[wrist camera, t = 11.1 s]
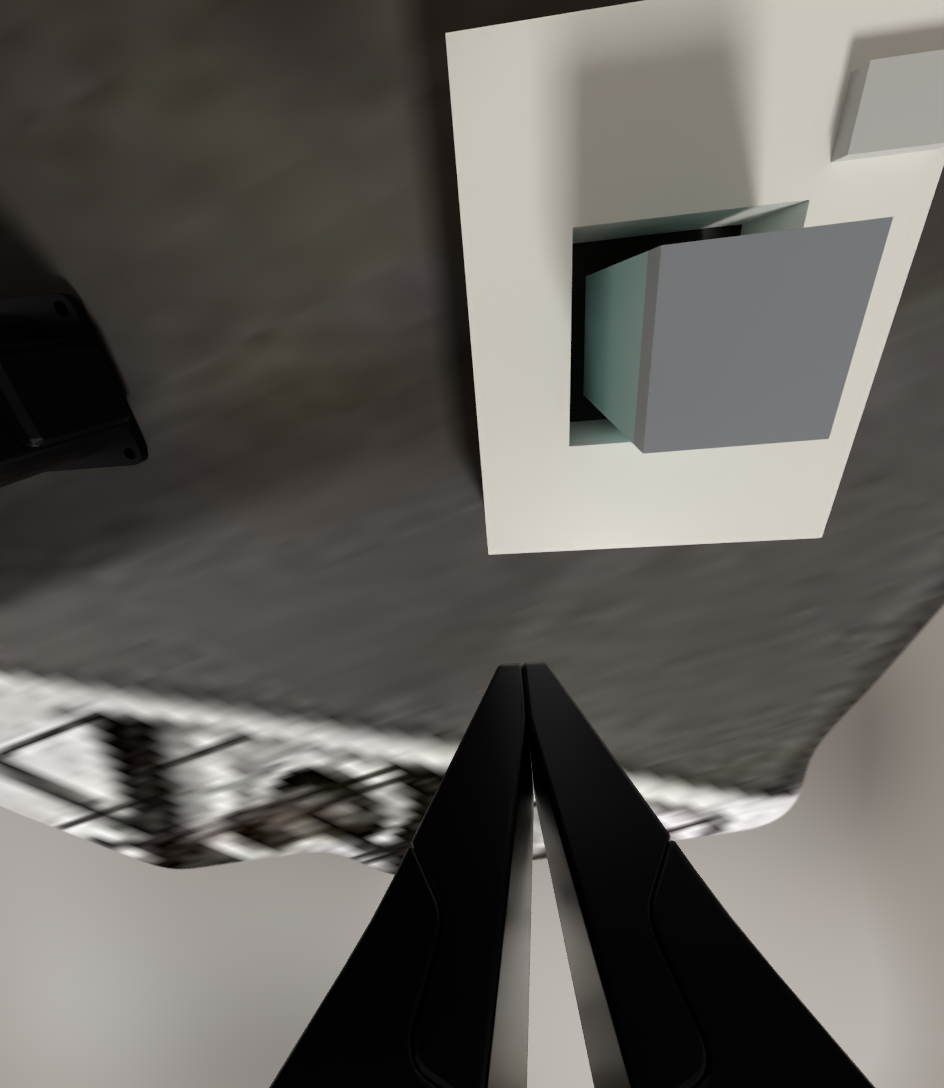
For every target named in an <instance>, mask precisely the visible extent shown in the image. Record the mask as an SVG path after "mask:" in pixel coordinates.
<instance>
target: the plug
mask: <svg viewBox="0 0 944 1088" xmlns="http://www.w3.org/2000/svg"><path fill="white" fill-rule="evenodd" d="M892 220H893V217H886V218H878V219H870V220H862V221H854V222H846V223H838V224H829V225H821V226H813V227H805V228H797V229H789V230H781V231H773V232H765V233H757V234H749V235H741V236H733V237H725V238H717V239H709V240H701V241H693V242H684V243H676V244H668V245H661V246H659V247H656V248H654V249H651V250H649V251H646V252H644V253H642V254H639V255H637V256H634V257H632V258H629V259H627V260H625V261H622V262H620V263H617V264H615V265H612V266H610V267H607V268H605V269H603V270H600V271H598V272H595V273H593V274H590V275H588V276H586V293H585V342H584V391H583V395H584V396H585V397H586V398H587V399H588V400H589V401H590V402H591V403H592V404H593V405H594V406H595V407H596V408H597V409H598V410H599V411H600V412H601V413H602V414H603V415H604V416H605V417H606V418H607V419H608V420H609V421H610V422H611V423H612V424H614V425H615V426H616V427H617V428H618V429H619V430H620V431H621V432H622V433H623V434H624V435H625V436H626V437H627V438H628V439H629V440H630V441H631V442H632V443H633V444H634V445H635V446H636V447H637V448H638V449H639V450H640V451H641V452H642V453H643V454H644V453H657V452H670V451H682V450H695V449H707V448H720V447H732V446H745V445H758V444H770V443H783V442H795V441H808V440H820V439H829V437H830V433H831V430H832V426H833V423H834V419H835V416H836V412H837V409H838V406H839V402H840V399H841V395H842V392H843V388H844V385H845V381H846V378H847V375H848V371H849V368H850V364H851V361H852V357H853V354H854V350H855V347H856V344H857V340H858V337H859V333H860V330H861V326H862V323H863V319H864V316H865V313H866V309H867V306H868V302H869V299H870V295H871V292H872V288H873V285H874V282H875V278H876V275H877V271H878V268H879V264H880V261H881V257H882V254H883V251H884V247H885V244H886V240H887V237H888V233H889V230H890V226H891V223H892Z"/></svg>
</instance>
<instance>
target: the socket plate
mask: <svg viewBox="0 0 944 1088" xmlns="http://www.w3.org/2000/svg"><path fill="white" fill-rule="evenodd" d="M445 36H446V48H447V60H448V72H449V84H450V96H451V109H452V121H453V133H454V145H455V157H456V169H457V181H458V193H459V205H460V217H461V229H462V241H463V253H464V265H465V277H466V289H467V301H468V313H469V326H470V338H471V350H472V362H473V374H474V386H475V398H476V410H477V422H478V434H479V446H480V458H481V470H482V482H483V494H484V506H485V518H486V530H487V543H488V555H492V554H512V553H531V552H551V551H571V550H591V549H610V548H630V547H650V546H669V545H689V544H709V543H729V542H748V541H768V540H788V539H807V538H822V535H823V532H824V529H825V526H826V523H827V520H828V517H829V514H830V511H831V508H832V505H833V502H834V499H835V496H836V492H837V489H838V486H839V483H840V480H841V477H842V474H843V471H844V468H845V465H846V462H847V459H848V456H849V453H850V450H851V447H852V444H853V440H854V437H855V434H856V431H857V428H858V425H859V422H860V419H861V416H862V413H863V410H864V407H865V404H866V401H867V398H868V395H869V392H870V389H871V385H872V382H873V379H874V376H875V373H876V370H877V367H878V364H879V361H880V358H881V355H882V352H883V349H884V346H885V343H886V340H887V337H888V334H889V330H890V327H891V324H892V321H893V318H894V315H895V312H896V309H897V306H898V303H899V300H900V297H901V294H902V291H903V288H904V285H905V282H906V278H907V275H908V272H909V269H910V266H911V263H912V260H913V257H914V254H915V251H916V248H917V245H918V242H919V239H920V236H921V233H922V230H923V227H924V223H925V220H926V217H927V214H928V211H929V208H930V205H931V202H932V199H933V196H934V193H935V190H936V187H937V184H938V181H939V178H940V175H941V172H942V168H943V165H944V0H644V1H638V2H632V3H626V4H619V5H613V6H607V7H601V8H595V9H589V10H583V11H577V12H571V13H565V14H558V15H552V16H546V17H540V18H534V19H528V20H522V21H516V22H510V23H504V24H497V25H491V26H485V27H479V28H473V29H467V30H461V31H455V32H449V33H445ZM886 217H893V220H892V223H891V226H890V230H889V233H888V237H887V240H886V244H885V247H884V251H883V254H882V257H881V261H880V264H879V268H878V271H877V275H876V278H875V282H874V285H873V288H872V292H871V295H870V299H869V302H868V306H867V309H866V313H865V316H864V319H863V323H862V326H861V330H860V333H859V337H858V340H857V344H856V347H855V350H854V354H853V357H852V361H851V364H850V368H849V371H848V375H847V378H846V381H845V385H844V388H843V392H842V395H841V399H840V402H839V406H838V409H837V412H836V416H835V419H834V423H833V426H832V430H831V433H830V437H829V439H820V440H808V441H795V442H783V443H770V444H758V445H745V446H732V447H720V448H707V449H695V450H682V451H670V452H657V453H644V454H643V453H642V452H641V451H640V450H639V449H638V448H637V447H636V446H635V445H634V444H633V443H632V442H631V441H630V440H629V439H628V438H627V437H626V436H625V435H624V434H623V433H622V432H621V431H620V430H619V429H618V428H617V427H616V426H615V425H614V424H612V423H611V422H610V421H609V420H608V419H602V420H589V421H577V422H570V367H571V304H572V244H574V243H583V242H592V241H600V240H609V239H618V238H626V237H635V236H644V235H652V234H661V233H670V232H678V231H687V230H696V229H704V228H713V227H722V226H730V225H739V224H742V228H741V234H740V236H741V235H749V234H757V233H765V232H773V231H781V230H789V229H797V228H805V227H813V226H821V225H829V224H838V223H846V222H854V221H862V220H870V219H878V218H886Z"/></svg>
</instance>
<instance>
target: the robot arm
mask: <svg viewBox="0 0 944 1088" xmlns="http://www.w3.org/2000/svg"><path fill="white" fill-rule="evenodd" d="M64 304H65V305H66V307H67V308H68V314H67V312H66V311H65V310H64V306H63V305H64ZM131 449H132V450H133V451H134V452H135V455H136V456H135V455H133V453H132V452H131ZM147 458H148V452H147V449H146V447H145V444H144V442H143V440H142V438H141V436H140V433H139V431H138V429H137V427H136V425H135V422H134V420H133V418H132V416H131V413H130V411H129V409H128V407H127V405H126V402H125V400H124V398H123V396H122V394H121V391H120V389H119V387H118V385H117V382H116V380H115V378H114V376H113V374H112V371H111V369H110V367H109V365H108V363H107V360H106V358H105V356H104V354H103V351H102V349H101V347H100V345H99V343H98V340H97V338H96V336H95V334H94V332H93V329H92V327H91V325H90V323H89V320H88V318H87V316H86V314H85V312H84V309H83V307H82V306H81V304H80V302H79V301H78V300H77V299H76V298H75V297H73V296H71V295H69V294H61V293H51V294H43V295H34V296H26V297H17V298H9V299H0V487H3V486H6V485H9V484H12V483H15V482H17V481H20V480H23V479H26V478H29V477H32V476H35V475H37V474H40V473H43V472H47V471H60V470H74V469H87V468H100V467H113V466H126V465H136V464H139V463H141V462H144V461H146V459H147ZM523 677H524V679H523ZM524 689H525V690H524ZM529 743H530V745H529ZM530 754H531V756H530ZM531 764H532V767H531ZM532 775H533V778H532ZM533 784H534V793H535V799H536V804H537V810H538V815H539V820H540V825H541V829H542V834H543V839H544V844H545V849H546V854H547V859H548V864H549V868H550V873H551V878H552V883H553V888H554V893H555V898H556V903H557V907H558V912H559V917H560V922H561V927H562V932H563V936H564V942H565V946H566V951H567V956H568V961H569V966H570V971H571V976H572V980H573V985H574V990H575V995H576V1000H577V1005H578V1010H579V1015H580V1020H581V1025H582V1029H583V1034H584V1039H585V1044H586V1049H587V1054H588V1058H589V1063H590V1068H591V1073H592V1078H593V1083H594V1088H875V1087H874V1086H873V1085H872V1083H871V1082H870V1081H869V1080H868V1079H867V1078H866V1076H865V1075H864V1074H863V1073H862V1072H861V1070H860V1069H859V1068H858V1067H857V1066H856V1065H855V1063H854V1062H853V1061H852V1060H851V1059H850V1058H849V1056H848V1055H847V1054H846V1053H845V1052H844V1051H843V1049H842V1048H841V1047H840V1046H839V1045H838V1044H837V1043H836V1041H835V1040H834V1039H833V1038H832V1037H831V1035H830V1034H829V1033H828V1032H827V1031H826V1030H825V1028H824V1027H823V1026H822V1025H821V1024H820V1023H819V1021H818V1020H817V1019H816V1018H815V1017H814V1016H813V1014H812V1013H811V1012H810V1011H809V1010H808V1009H807V1007H806V1006H805V1005H804V1004H803V1003H802V1002H801V1000H800V999H799V998H798V997H797V996H796V994H795V993H794V992H793V991H792V990H791V989H790V987H789V986H788V985H787V984H786V983H785V982H784V981H783V979H782V978H781V977H780V976H779V975H778V974H777V972H776V971H775V970H774V969H773V967H772V966H771V965H770V964H769V963H768V961H767V960H766V959H765V958H764V957H763V955H762V954H761V953H760V952H759V950H758V949H757V948H756V947H755V946H754V944H753V943H752V942H751V941H750V940H749V938H748V937H747V936H746V935H745V933H744V932H743V931H742V930H741V929H740V927H739V926H738V925H737V924H736V923H735V921H734V920H733V919H732V918H731V916H729V914H728V912H727V911H726V910H725V909H724V907H723V906H722V905H721V903H720V902H719V901H718V899H717V898H716V897H715V895H714V894H713V893H712V891H711V890H710V889H709V887H708V886H707V885H706V883H705V882H704V881H703V879H702V878H701V877H700V875H699V874H698V873H697V871H696V870H695V869H694V868H693V866H692V865H691V863H690V862H689V861H688V859H687V858H686V856H685V855H684V854H683V852H682V851H681V849H680V848H679V846H678V845H677V844H676V842H675V841H672V840H671V841H670V834H669V833H668V832H667V830H666V829H665V827H664V826H663V825H662V823H661V822H660V820H659V819H658V818H657V816H656V815H655V813H654V812H653V811H652V809H651V808H650V806H649V805H648V804H647V802H646V801H645V800H644V798H643V797H642V795H641V794H640V793H639V791H638V790H637V788H636V787H635V786H634V784H633V783H632V781H631V780H630V779H629V777H628V776H627V774H626V773H625V772H624V770H623V769H622V767H621V766H620V765H619V763H618V762H617V760H616V759H615V758H614V756H613V755H612V754H611V752H610V751H609V749H608V748H607V747H606V745H605V744H604V742H603V741H602V740H601V738H600V737H599V735H598V734H597V733H596V731H595V730H594V728H593V727H592V726H591V724H590V723H589V721H588V720H587V719H586V717H585V716H584V715H583V713H582V712H581V710H580V709H579V708H578V706H577V705H576V703H575V702H574V701H573V699H572V698H571V696H570V695H569V694H568V692H567V691H566V689H565V688H564V687H563V685H562V684H561V682H560V681H559V680H558V678H557V677H556V675H555V674H554V673H553V671H552V670H551V669H550V667H549V666H548V665H547V664H546V663H545V662H530V663H525V664H524V665H523V669H522V665H521V664H519V663H514V664H501V665H500V666H498V668H497V670H496V672H495V674H494V676H493V678H492V680H491V682H490V684H489V686H488V688H487V690H486V692H485V694H484V696H483V698H482V700H481V702H480V704H479V706H478V708H477V710H476V712H475V714H474V716H473V718H472V720H471V722H470V724H469V726H468V728H467V731H466V733H465V735H464V737H463V739H462V741H461V743H460V745H459V747H458V749H457V751H456V753H455V755H454V757H453V759H452V761H451V763H450V765H449V767H448V769H447V771H446V773H445V775H444V777H443V779H442V781H441V783H440V785H439V787H438V789H437V791H436V793H435V795H434V797H433V799H432V802H431V804H430V806H429V808H428V810H427V812H426V814H425V816H424V818H423V820H422V822H421V824H420V826H419V828H418V830H417V832H416V834H415V836H414V838H413V840H412V847H413V848H412V847H409V848H408V850H407V852H406V854H405V856H404V858H403V860H402V862H401V864H400V866H399V868H398V870H397V872H396V874H395V876H394V878H393V880H392V882H391V884H390V886H389V887H388V889H387V891H386V893H385V895H384V897H383V899H382V901H381V903H380V905H379V907H378V908H377V910H376V912H375V914H374V916H373V918H372V920H371V922H370V923H369V925H368V927H367V928H366V930H365V932H364V933H363V935H362V937H361V938H360V940H359V942H358V944H357V945H356V947H355V949H354V951H353V952H352V954H351V955H350V957H349V959H348V961H347V962H346V964H345V966H344V967H343V969H342V971H341V972H340V974H339V976H338V977H337V979H336V980H335V982H334V984H333V985H332V987H331V989H330V990H329V992H328V993H327V995H326V997H325V998H324V1000H323V1002H322V1003H321V1005H320V1006H319V1008H318V1010H317V1011H316V1013H315V1015H314V1016H313V1018H312V1019H311V1021H310V1023H309V1024H308V1026H307V1027H306V1029H305V1031H304V1032H303V1034H302V1036H301V1037H300V1039H299V1040H298V1042H297V1044H296V1045H295V1047H294V1048H293V1050H292V1052H291V1053H290V1055H289V1057H288V1058H287V1060H286V1061H285V1063H284V1065H283V1066H282V1068H281V1069H280V1071H279V1073H278V1074H277V1076H276V1078H275V1079H274V1081H273V1083H272V1084H271V1086H270V1087H269V1088H527V1056H528V1053H527V1052H528V1013H529V975H530V972H529V971H530V934H531V933H530V932H531V892H532V853H533V812H534V794H533Z"/></svg>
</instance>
